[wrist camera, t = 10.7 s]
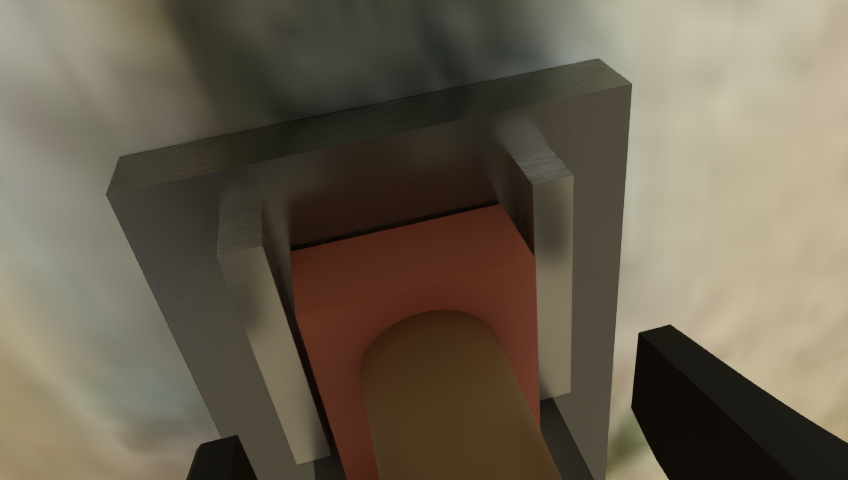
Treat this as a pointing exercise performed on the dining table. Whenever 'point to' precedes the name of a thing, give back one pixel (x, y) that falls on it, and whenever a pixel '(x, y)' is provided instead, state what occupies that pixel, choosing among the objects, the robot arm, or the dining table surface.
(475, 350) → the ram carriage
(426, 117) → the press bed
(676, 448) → the robot arm
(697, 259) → the dining table surface
